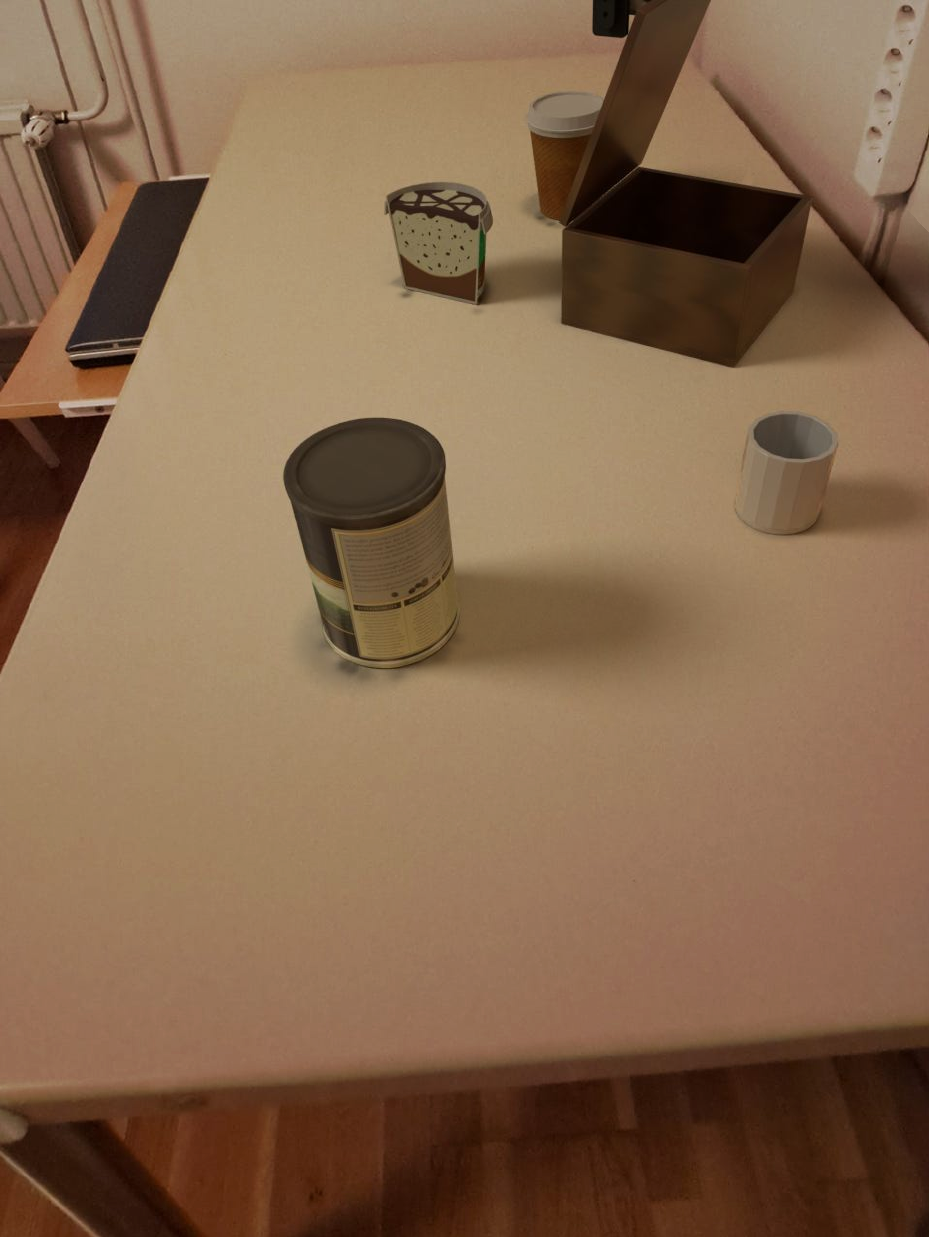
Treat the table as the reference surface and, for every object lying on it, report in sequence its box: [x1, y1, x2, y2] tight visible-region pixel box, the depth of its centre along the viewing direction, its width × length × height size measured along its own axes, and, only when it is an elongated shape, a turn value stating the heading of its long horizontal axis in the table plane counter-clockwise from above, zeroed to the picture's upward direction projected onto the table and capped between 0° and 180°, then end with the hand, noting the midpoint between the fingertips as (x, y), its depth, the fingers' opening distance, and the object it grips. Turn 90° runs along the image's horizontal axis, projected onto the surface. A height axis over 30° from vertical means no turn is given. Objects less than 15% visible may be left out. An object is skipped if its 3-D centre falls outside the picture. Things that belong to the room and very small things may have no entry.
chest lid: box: [558, 0, 712, 228], centre depth 86 cm, size 19×17×5 cm
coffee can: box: [282, 417, 460, 669], centre depth 64 cm, size 10×10×14 cm
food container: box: [383, 181, 494, 306], centre depth 100 cm, size 12×6×10 cm, turn 59°
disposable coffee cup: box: [525, 90, 604, 221], centre depth 111 cm, size 10×10×12 cm
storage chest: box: [560, 166, 813, 368], centre depth 94 cm, size 19×17×10 cm
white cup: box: [734, 410, 839, 536], centre depth 72 cm, size 6×6×7 cm
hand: (626, 22), depth 82 cm, fingers closed on chest lid, 5 cm apart
